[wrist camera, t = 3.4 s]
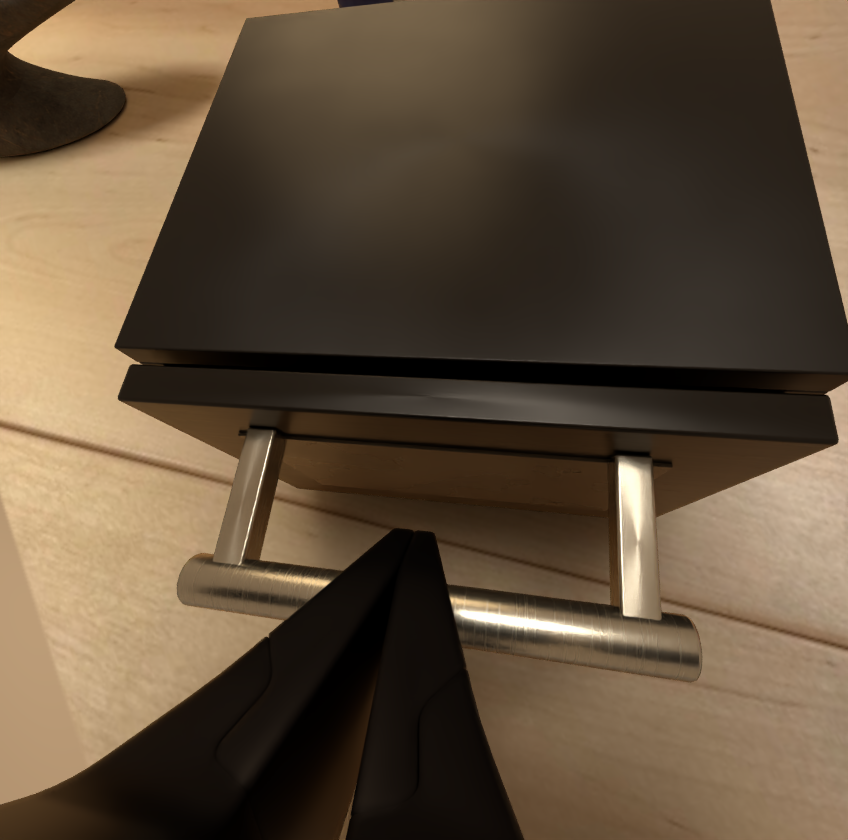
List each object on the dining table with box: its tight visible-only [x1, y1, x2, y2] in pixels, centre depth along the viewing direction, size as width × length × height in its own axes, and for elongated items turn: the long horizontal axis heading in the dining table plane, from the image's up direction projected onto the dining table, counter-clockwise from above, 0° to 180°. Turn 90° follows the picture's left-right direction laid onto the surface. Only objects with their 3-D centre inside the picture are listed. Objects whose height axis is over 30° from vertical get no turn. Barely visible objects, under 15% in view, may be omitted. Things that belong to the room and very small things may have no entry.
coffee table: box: [0, 0, 125, 156], centre depth 33 cm, size 25×9×9 cm, turn 95°
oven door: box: [118, 364, 839, 682], centre depth 13 cm, size 5×15×11 cm, turn 83°
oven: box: [115, 0, 848, 395], centre depth 18 cm, size 13×16×13 cm
